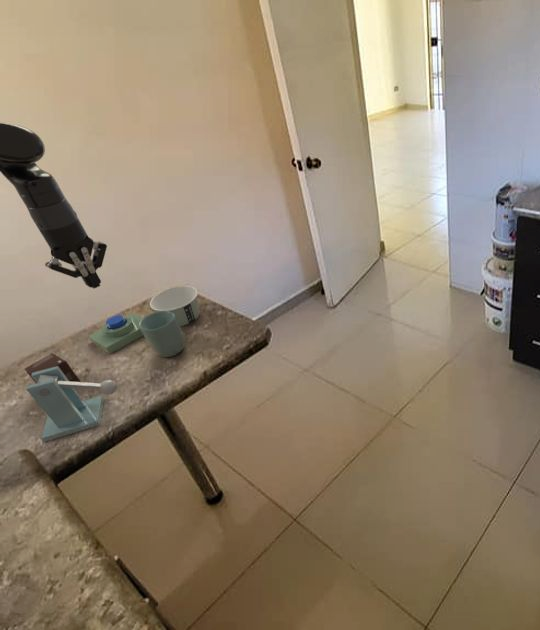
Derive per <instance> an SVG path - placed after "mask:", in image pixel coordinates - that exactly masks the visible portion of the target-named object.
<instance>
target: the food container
mask: <svg viewBox="0 0 540 630" xmlns="http://www.w3.org/2000/svg"><path fill="white" fill-rule="evenodd" d="M198 294H199V292H198V290H197V288H196V287H193V286H191V285H178V286H173V287H169V288H166V289H164V290H162V291H160V292H159V293H156V294H155V295H154V296H153V297H152V298H151V299H150V301H149V307H150V308H151V309H152V311H154V312H158V311H170V312H172V313H173V314H174V315H175V316H176V318H177V320H178V323H179V325H180V327H183V326H187V325H188V324H189V325H190V324H191V323H193V322H195V320H197V319H198V318H199V316H200V315H199V314H201V309H200V305H199V300H198V299H199V298H198Z"/></svg>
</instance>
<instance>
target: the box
mask: <svg viewBox="0 0 540 630" xmlns="http://www.w3.org/2000/svg"><path fill="white" fill-rule="evenodd" d="M56 366H58V367H59V368H60V369H61V371H62V372H63V374H64V375H65V376H66V378H67V379H68V380H69V381H70V382H82V380H81V379H80V378H79V377H78V376H77V374H76V373H75V372H74V370H73V368H72V367H71V366H70V364H69V363H68V362H67V361H66V360H65V359H63V358H61V357H60V356H58V355H57V354H55V353H53V352H52V353H50V354H48V355H46V356H45V357H42V358H41V359H39V360H37V361H35V362H33V363H32V364H30V365H28V366H26V367H24V371H25V372H26V373H27V374H28V376H29V377H30V378H31V379H32V380H33V382H34V384H36V383H37V382H36V381H35V380H34V379H33V377H32V376H31V375H32V373H34V372H37V371H41V370H45V369H49V368H52V367H56Z"/></svg>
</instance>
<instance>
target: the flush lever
mask: <svg viewBox="0 0 540 630" xmlns="http://www.w3.org/2000/svg"><path fill="white" fill-rule="evenodd" d="M51 379H55V381H56V382H57V383H58V385H59V386H60V387H61V388H70V389H75V390H90V391H99V392H100V393H101V394H102V395H105V396H110V395H111V396H112V395H113V394H115V393H116V392H117V390H118V383H117V381H115V380H113V379H105V380H103V381H102V382H85V381H84V382H83V381H81V382H70V381H58V376H48V375H40V377H39V380H38V383H40V382H44V381H47V380H51Z"/></svg>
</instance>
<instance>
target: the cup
mask: <svg viewBox="0 0 540 630" xmlns="http://www.w3.org/2000/svg"><path fill="white" fill-rule="evenodd" d="M142 318H143V319H142V320H141V321H140V323H139V328H140V330H141V332H142V334H143V338H144V339H145V341H146V343H147V344H148V346H149V348H150V349H151V350H152V351H153V352H154V353H155V354H156V355H157V356H160V357H163V358H171V357H175V356H176V355H178V354H179V353H181V352H182V351H183V349H184V348H185V345H186V339H185V334H184V332H183V329H182V326H180V325H179V323H178V320H177V318H176V316H175V315H174V314H173V313H172V312H170V311H158V312H156V311H154V312H152V313H149V314H148V315H146V316H144V317H142Z"/></svg>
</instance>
